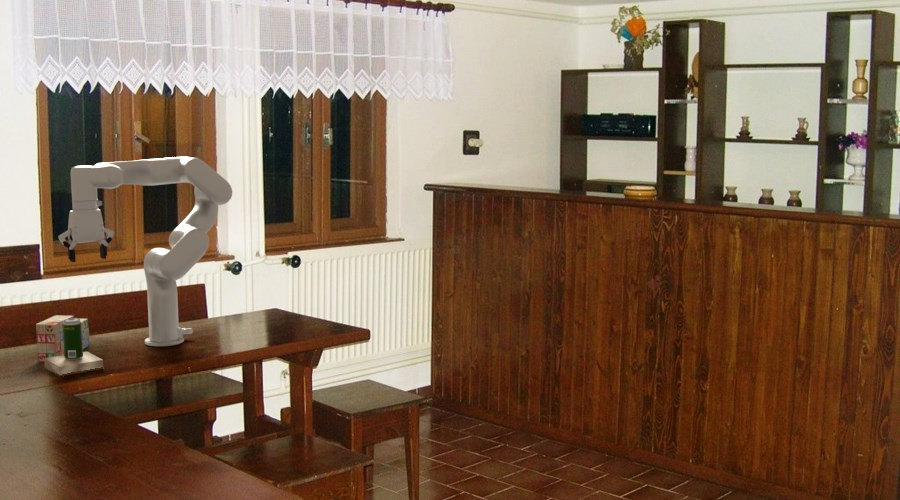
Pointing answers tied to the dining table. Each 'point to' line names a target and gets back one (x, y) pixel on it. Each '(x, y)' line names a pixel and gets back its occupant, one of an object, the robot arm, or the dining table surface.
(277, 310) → the dining table surface
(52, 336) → the stack of blocks
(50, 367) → the birch base block
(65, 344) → the beer can
